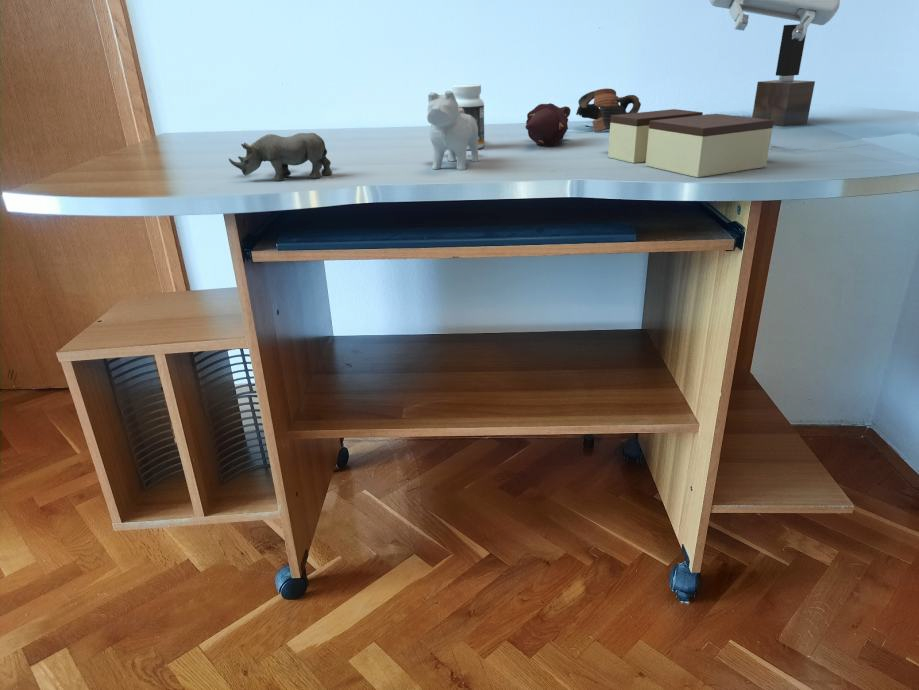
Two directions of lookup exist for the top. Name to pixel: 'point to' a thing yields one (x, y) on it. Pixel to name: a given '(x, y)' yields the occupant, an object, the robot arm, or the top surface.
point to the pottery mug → (605, 107)
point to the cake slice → (636, 133)
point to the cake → (708, 144)
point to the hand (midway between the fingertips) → (769, 32)
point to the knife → (789, 55)
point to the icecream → (547, 124)
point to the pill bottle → (471, 106)
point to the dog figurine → (451, 130)
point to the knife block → (783, 101)
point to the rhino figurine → (285, 154)
